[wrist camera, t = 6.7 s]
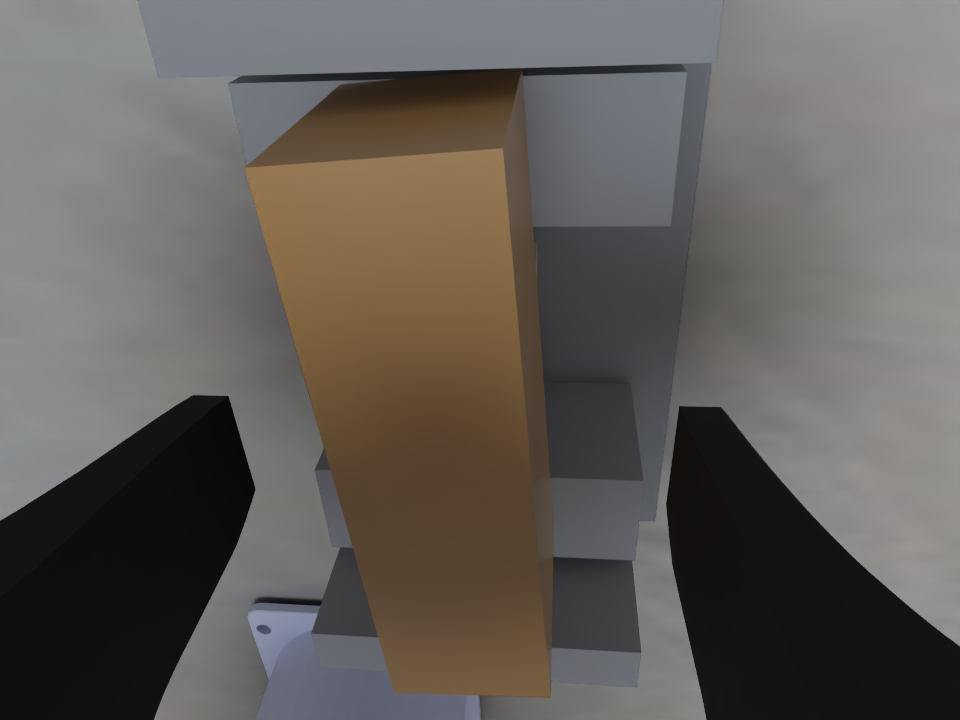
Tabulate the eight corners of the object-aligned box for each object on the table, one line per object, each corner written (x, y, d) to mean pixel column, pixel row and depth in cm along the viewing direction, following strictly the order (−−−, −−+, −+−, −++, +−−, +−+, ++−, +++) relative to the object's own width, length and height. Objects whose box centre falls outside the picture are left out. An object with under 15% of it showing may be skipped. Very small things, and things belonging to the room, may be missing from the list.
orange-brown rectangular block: (325, 85, 11) (221, 169, 8) (522, 67, 11) (502, 148, 7) (418, 527, 16) (380, 692, 13) (553, 527, 16) (550, 697, 12)
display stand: (651, 496, 21) (681, 706, 16) (352, 485, 22) (282, 680, 17) (722, -119, 13) (838, -125, 7) (241, -93, 14) (33, -83, 8)
